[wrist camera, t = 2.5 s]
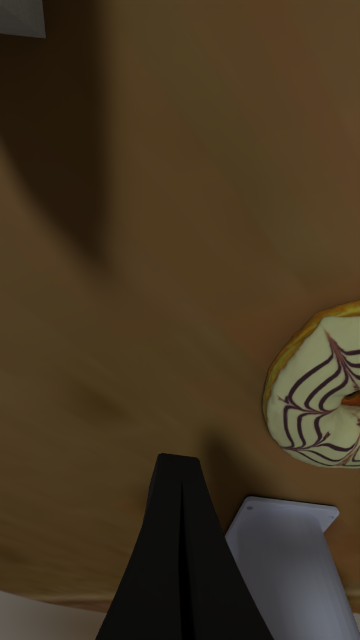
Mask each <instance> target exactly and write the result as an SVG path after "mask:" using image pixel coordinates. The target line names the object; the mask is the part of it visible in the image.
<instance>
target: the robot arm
mask: <svg viewBox="0 0 360 640" xmlns="http://www.w3.org/2000/svg"><path fill="white" fill-rule="evenodd" d="M338 515H339V511H338V508H337V507H334V506H326V505H318V504H310V503H302V502H294V501H286V500H277V499H269V498H261V497H253V496H250V497H247V498H246V499H245V500H244V502H243V504H242V506H241V507H240V509H239V511H238V513H237V515H236V517H235V518H234V520H233V522H232V524H231V526H230V527H229V529H228V531H227V533H226V535H225V536H224V533H223V531H222V528H221V525H220V523H219V520H218V518H217V515H216V512H215V510H214V507H213V504H212V501H211V498H210V495H209V492H208V489H207V486H206V483H205V479H204V476H203V472H202V469H201V465H200V461H199V459H198V458H196V457H188V456H181V455H173V454H166V453H161V454H159V455H158V457H157V461H156V464H155V468H154V471H153V475H152V478H151V482H150V486H149V493H148V499H147V505H146V510H145V515H144V520H143V524H142V528H141V531H140V533H139V536H138V539H137V542H136V544H135V547H134V550H133V553H132V555H131V558H130V560H129V563H128V565H127V568H126V570H125V573H124V575H123V578H122V580H121V582H120V585H119V587H118V590H117V592H116V594H115V597H114V599H113V601H112V603H111V606H110V608H109V610H108V612H107V615H106V617H105V619H104V621H103V624H102V626H101V628H100V630H99V632H98V635H97V637H96V639H95V640H360V632H359V629H358V627H357V624H356V621H355V618H354V616H353V613H352V610H351V607H350V605H349V602H348V599H347V597H346V594H345V591H344V588H343V586H342V583H341V580H340V578H339V575H338V572H337V569H336V567H335V564H334V561H333V558H332V556H331V553H330V550H329V548H328V545H327V542H326V539H325V537H324V534H323V533H324V532H325V530H326V529H327V528H328V527H329V526H330V524H331V523H332V522H333V521H334V520H335V518H336V517H337V516H338Z"/></svg>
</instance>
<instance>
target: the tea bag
mask: <svg viewBox="0 0 360 640" xmlns="http://www.w3.org/2000/svg"><path fill="white" fill-rule="evenodd" d="M0 34H9V35H18V36H28V37H37V38H46V33H45V23H44V13H43V3H42V0H0Z"/></svg>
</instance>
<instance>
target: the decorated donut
mask: <svg viewBox="0 0 360 640" xmlns="http://www.w3.org/2000/svg"><path fill="white" fill-rule="evenodd" d="M358 390H359V391H358ZM355 391H357V392H355ZM353 392H355V393H353ZM351 393H353V394H351ZM348 394H351V395H350V396H345V395H348ZM344 396H345V397H344ZM262 406H263V413H264V417H265V421H266V423H267V425H268V429H269V432H270V433H271V435H272V438H274V439H275V440H276V441H277V443H278V444H279V445H280V447H281V448H282V449H283V450H284V451H286V452H287V453H289V454H290V455H291V456H292V457H293V458H296V459H298V460H299V461H303V462H306V463H309V464H312V465H315V466H318V467H327V468H338V467H341V468H360V299H359V300H358V301H355V302H348V303H345V304H341V305H337V306H335V307H333V308H329V309H326V310H323V311H320V312H319V313H317V314H315V315H314V316H313V317H312V318H311V319H310V320H309V321H308V322H307V323H306V324H305V325H304V326H303V327H302V328H301V329H300V330H299V331H297V332H296V333H295V334H294V335H293V336H292V339H291V340H290V341H289V342H288V343H286V345H285V346H284V348H283V349H282V350H281V351H280V353H279V354H278V356H277V357H276V358H275V360H274V362H273V363H272V364H271V366H270V368H269V370H268V375H267V379H266V381H265V392H264V395H263V405H262Z"/></svg>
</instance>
